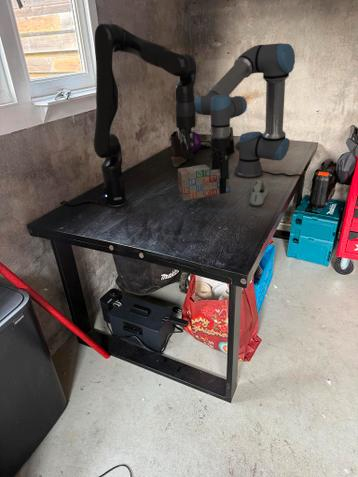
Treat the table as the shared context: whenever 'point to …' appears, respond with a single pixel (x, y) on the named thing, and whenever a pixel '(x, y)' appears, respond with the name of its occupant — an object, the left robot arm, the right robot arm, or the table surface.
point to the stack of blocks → (199, 182)
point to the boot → (176, 150)
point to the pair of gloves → (206, 141)
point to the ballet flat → (258, 193)
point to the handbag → (231, 146)
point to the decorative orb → (196, 142)
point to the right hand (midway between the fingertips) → (219, 190)
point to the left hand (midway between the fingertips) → (187, 156)
